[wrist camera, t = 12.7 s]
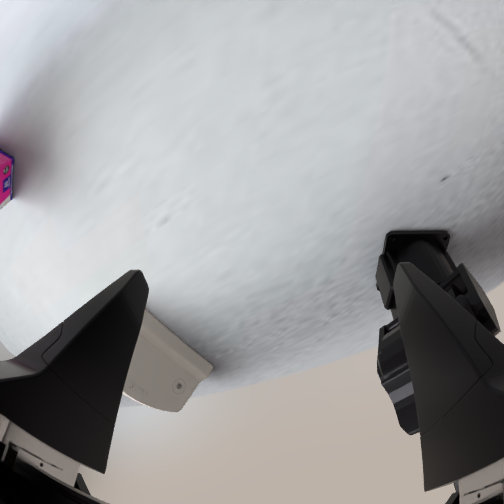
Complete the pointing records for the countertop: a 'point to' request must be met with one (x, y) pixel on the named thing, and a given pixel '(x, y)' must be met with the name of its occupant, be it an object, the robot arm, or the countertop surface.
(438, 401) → the robot arm
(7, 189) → the supplement box
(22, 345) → the countertop surface
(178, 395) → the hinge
